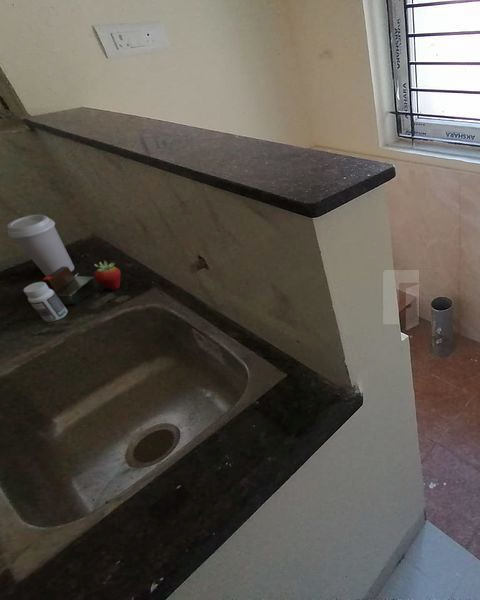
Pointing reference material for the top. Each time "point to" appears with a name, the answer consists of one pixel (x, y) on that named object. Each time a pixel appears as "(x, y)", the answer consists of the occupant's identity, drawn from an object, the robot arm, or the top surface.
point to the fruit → (108, 275)
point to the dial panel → (77, 290)
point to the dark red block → (59, 279)
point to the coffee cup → (40, 242)
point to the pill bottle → (45, 301)
